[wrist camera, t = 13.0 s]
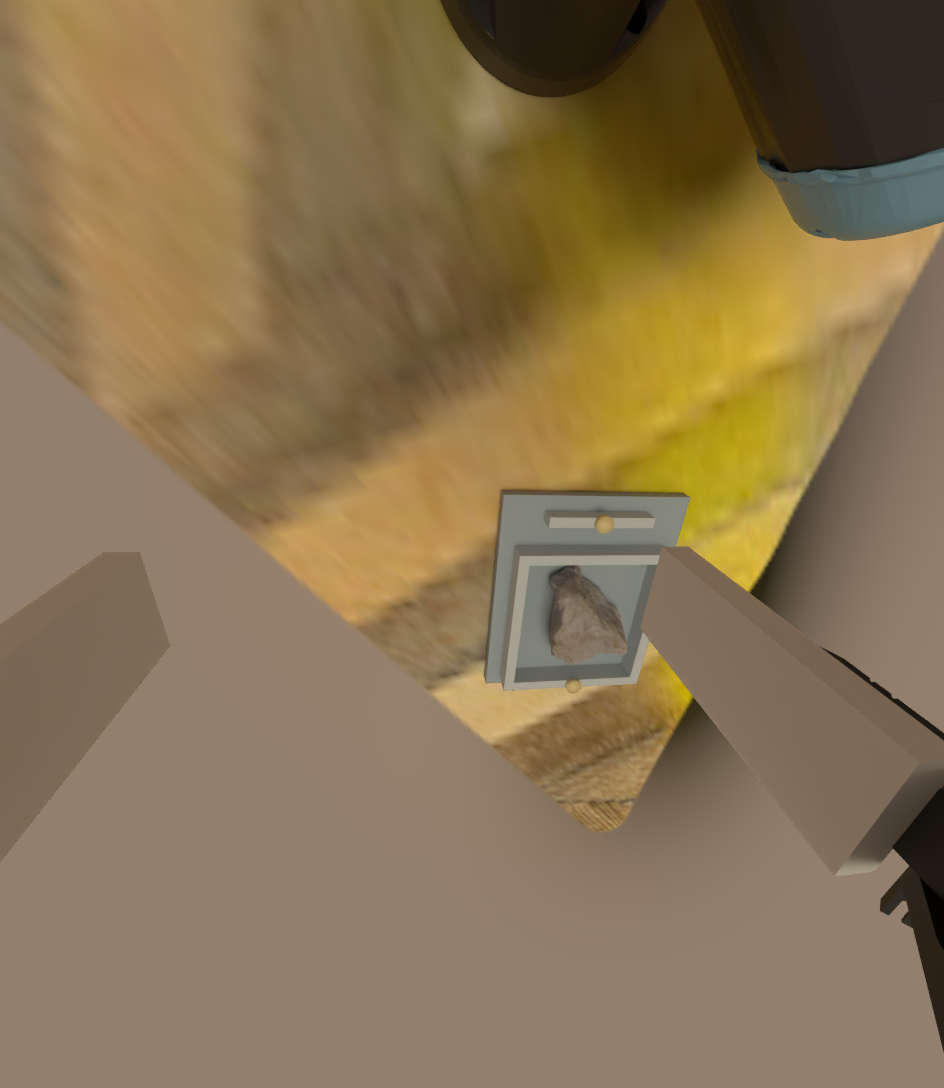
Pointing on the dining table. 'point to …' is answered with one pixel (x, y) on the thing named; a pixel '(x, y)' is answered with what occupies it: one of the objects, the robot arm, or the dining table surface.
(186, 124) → the dining table surface
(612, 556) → the bracket board
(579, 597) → the stone
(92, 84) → the dining table surface
